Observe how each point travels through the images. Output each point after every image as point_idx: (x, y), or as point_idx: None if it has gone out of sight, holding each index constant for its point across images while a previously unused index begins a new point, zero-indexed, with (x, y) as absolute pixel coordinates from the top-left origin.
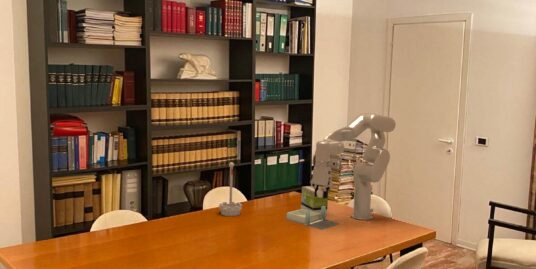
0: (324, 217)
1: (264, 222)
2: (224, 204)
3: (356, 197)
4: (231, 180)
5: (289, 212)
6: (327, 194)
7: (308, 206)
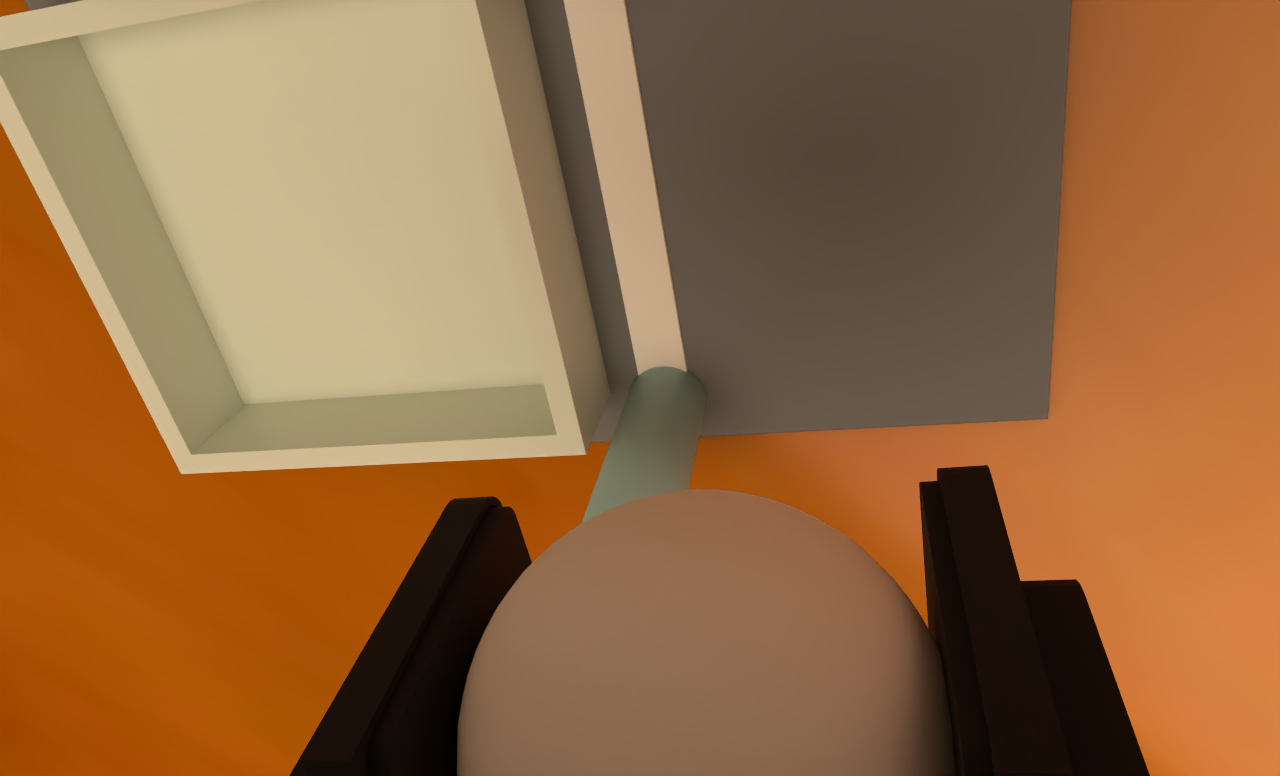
0: None
1: (290, 686)
2: None
3: None
4: None
5: (174, 428)
6: (1102, 678)
7: None
